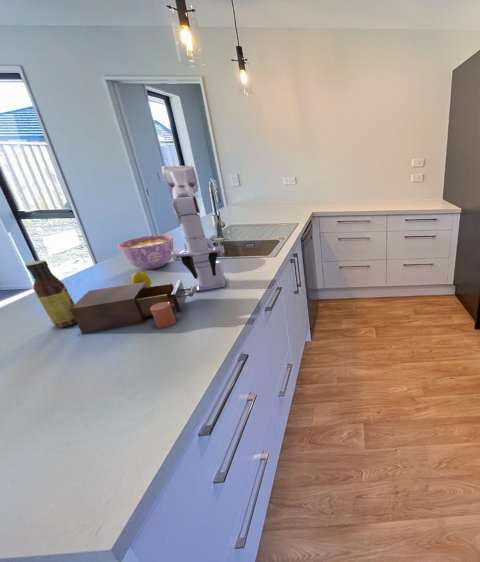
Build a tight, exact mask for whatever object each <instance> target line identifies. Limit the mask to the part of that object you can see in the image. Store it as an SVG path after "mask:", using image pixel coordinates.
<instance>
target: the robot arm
mask: <svg viewBox="0 0 480 562" xmlns="http://www.w3.org/2000/svg"><path fill="white" fill-rule="evenodd" d="M161 172H162V176H163V180H164V183H165V184H166V188H167V190H168V191H169V193H170V194H171V195H172V197H173V199H172V200H171V204H172V209H173V211H174V215H175V216H176V219H177V221H178V224H179V225H180V229H181V232H182V236H183V239H184V243H183V246H182V248H183V250H178V251H173V252H172V260H173V261H174V260H178V259H181V263H182V265H184V267H186V269H188V271H189V272H190V273H191V275H192V276H193V278H194V280H196V283H197V286H196V289H195V291H196V292H200V291H207V290H212V289H218V288H224V287H225V286H226V275H225V273H224V269H223V265H222V262H221V261H217V260H218V255H219V254H225V247H224V245H219V246H218V245H217V246H215V245H214V242H213V241H212V240H211V239H210V238H207V237H206V234H205V231H204V230H205V229H204V227H203V223H202V219H201V209H200V206H199V202H198V198H197V197H196V195H195V194H196V193H198V192H199V184H198V177H197V173H196V170H195V166H193V165H192V164H190V165H173V166H169V165H168V166H164V165H163V166H162V167H161Z"/></svg>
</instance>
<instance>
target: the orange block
mask: <svg viewBox="0 0 480 562" xmlns="http://www.w3.org/2000/svg"><path fill="white" fill-rule="evenodd" d="M150 310H151V313H152V315H151V316H152V318H153V321H154V323H155V326H156V328H159V329H164V328H168V327H170V326H173V325H174V324H175V323H176V322H177V320H176V319H177V318H176V317H175V313H174V312H173V311H174V310H172V308H171V305H170V303H169V302H161V303H157V304H155V305H153V306H151V307H150Z"/></svg>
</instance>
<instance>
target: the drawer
mask: <svg viewBox="0 0 480 562" xmlns="http://www.w3.org/2000/svg"><path fill="white" fill-rule="evenodd" d="M196 289H197V286H195V285H192V286H191V287H185V288H184V284H183V282H182V279H180V280H176V283H175V285H174V284H173V282H168V283H163V284H157V285H150V286H149V287H144V288H143V290H142V291H141V292H140V294H139V295H138V297H137V298H136V303H137V305H138V308H139V310H140V313H141V315H142V317H144V316H146V317H148V316H152V313H151V310H150V307H151V306H153V305H155V304H157V303H161V302H169V303H170V305H171V308H172V311H174V310H173V309H174V308H175V311H176V313H182V311H183V308H184V305H185V302H186V299H187V297H191V298H192V297H194V294H195V292H196ZM186 291H189V292H188V293H186Z"/></svg>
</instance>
